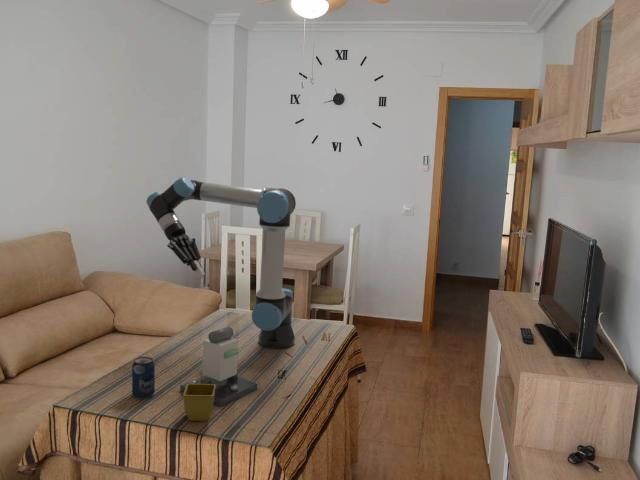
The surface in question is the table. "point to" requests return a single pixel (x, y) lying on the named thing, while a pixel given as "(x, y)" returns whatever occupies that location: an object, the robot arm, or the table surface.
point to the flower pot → (199, 401)
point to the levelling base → (226, 388)
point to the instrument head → (220, 355)
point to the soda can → (143, 377)
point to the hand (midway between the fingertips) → (202, 276)
